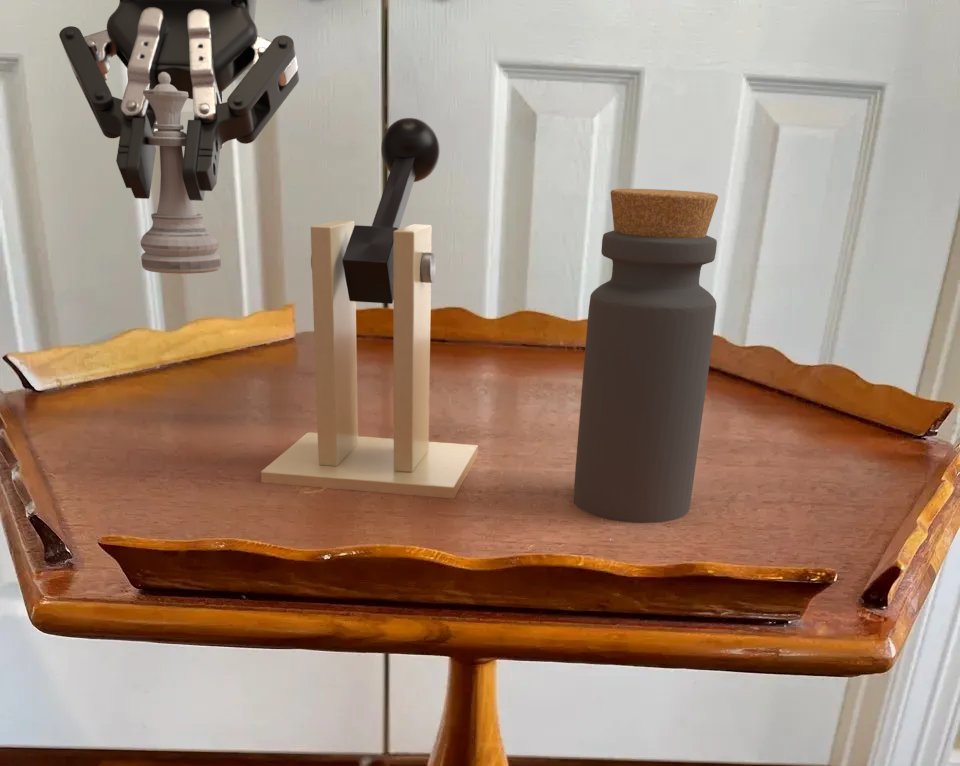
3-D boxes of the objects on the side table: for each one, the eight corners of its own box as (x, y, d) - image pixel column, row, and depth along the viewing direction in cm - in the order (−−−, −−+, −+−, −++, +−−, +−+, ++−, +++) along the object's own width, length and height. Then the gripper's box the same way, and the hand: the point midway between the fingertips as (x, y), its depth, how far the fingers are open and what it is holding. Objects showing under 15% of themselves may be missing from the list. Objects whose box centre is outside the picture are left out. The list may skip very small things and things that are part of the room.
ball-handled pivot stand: (308, 452, 60) (298, 215, 54) (477, 465, 59) (486, 224, 53) (261, 494, 53) (245, 226, 47) (453, 510, 51) (460, 237, 46)
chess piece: (131, 272, 57) (108, 68, 53) (156, 263, 61) (136, 72, 57) (209, 275, 57) (192, 71, 53) (229, 266, 61) (215, 75, 57)
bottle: (609, 541, 48) (643, 194, 42) (551, 502, 53) (574, 186, 46) (711, 527, 50) (759, 196, 44) (647, 491, 55) (682, 188, 49)
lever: (391, 159, 59) (384, 104, 56) (446, 162, 58) (441, 106, 55) (340, 307, 51) (330, 252, 49) (403, 311, 51) (396, 255, 48)
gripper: (54, -116, 57) (7, 129, 52) (305, -105, 58) (284, 139, 52) (96, 5, 64) (59, 232, 59) (319, 14, 65) (302, 240, 59)
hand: (165, 187), depth 55 cm, fingers closed on chess piece, 2 cm apart
